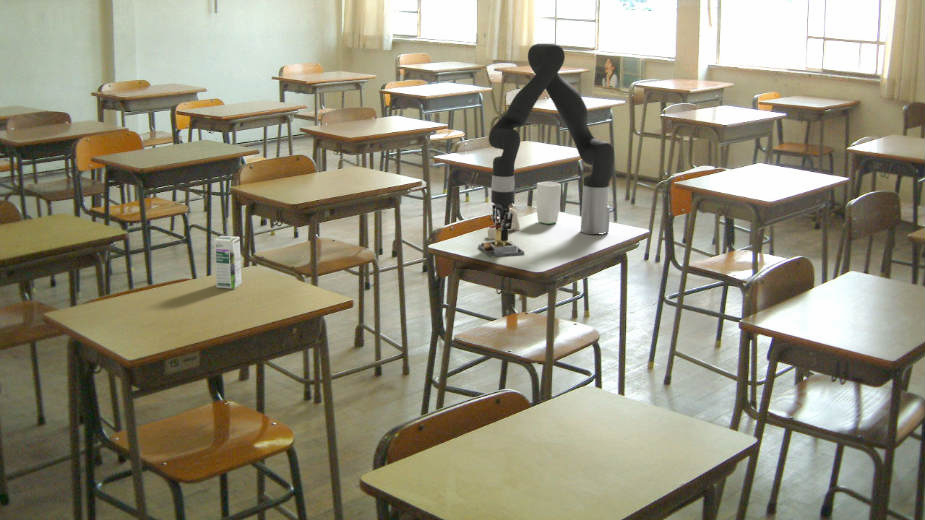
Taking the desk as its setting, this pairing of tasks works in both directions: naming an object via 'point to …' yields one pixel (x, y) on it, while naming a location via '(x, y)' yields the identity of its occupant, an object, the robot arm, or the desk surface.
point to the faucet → (513, 227)
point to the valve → (498, 236)
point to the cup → (548, 202)
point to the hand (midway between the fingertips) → (501, 238)
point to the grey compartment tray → (500, 249)
